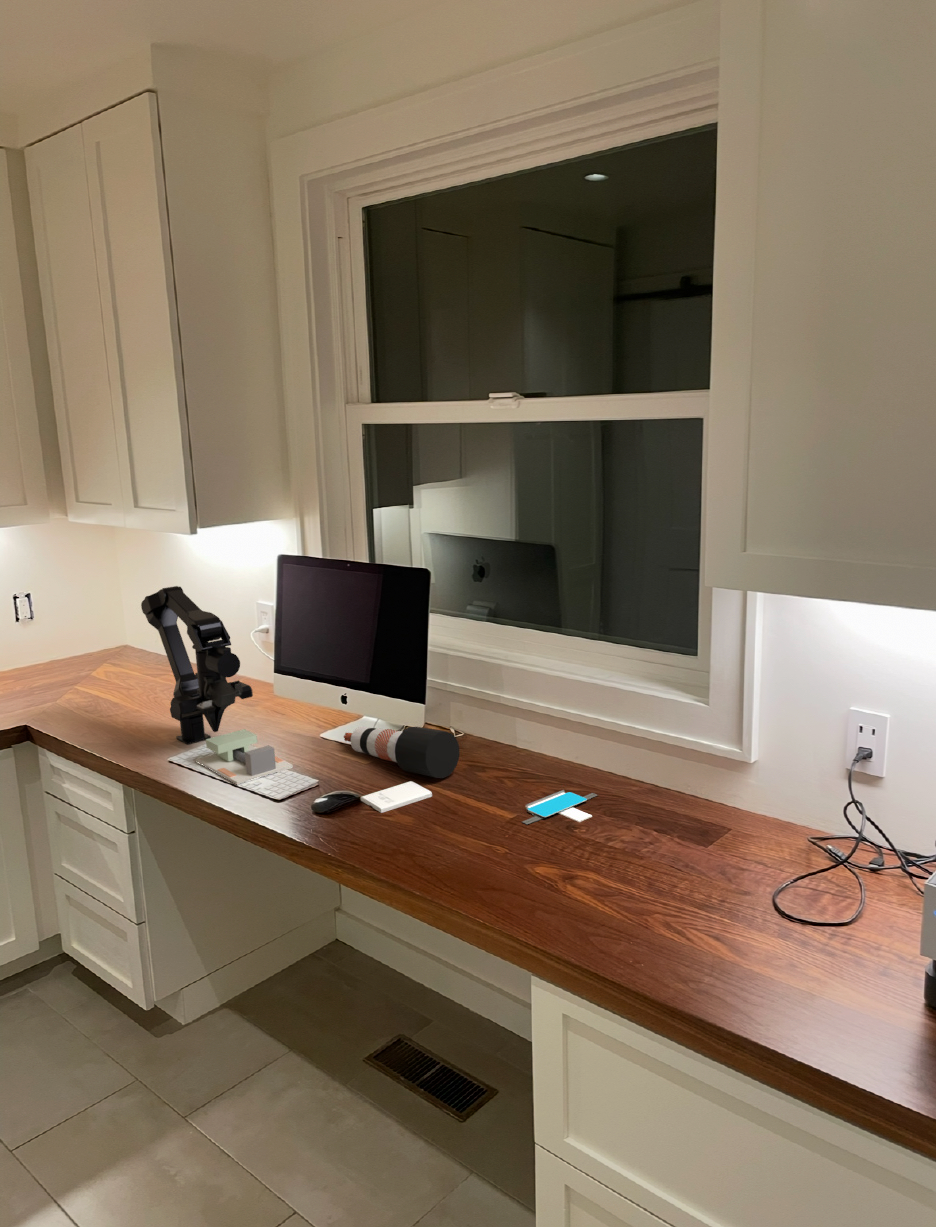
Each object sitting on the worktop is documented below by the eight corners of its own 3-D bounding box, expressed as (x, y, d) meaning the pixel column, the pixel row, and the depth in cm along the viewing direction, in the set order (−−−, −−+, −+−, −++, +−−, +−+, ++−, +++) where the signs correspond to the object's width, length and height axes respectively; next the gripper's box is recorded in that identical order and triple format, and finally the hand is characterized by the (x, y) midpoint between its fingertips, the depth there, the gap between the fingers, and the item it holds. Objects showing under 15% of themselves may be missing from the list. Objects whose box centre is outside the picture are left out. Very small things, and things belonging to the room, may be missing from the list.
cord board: (196, 762, 217) (193, 738, 216) (249, 746, 226) (247, 724, 225) (237, 785, 203) (234, 760, 202) (292, 767, 212) (290, 743, 211)
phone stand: (549, 837, 174) (548, 829, 174) (506, 818, 183) (506, 810, 183) (619, 806, 186) (619, 799, 186) (576, 790, 195) (576, 782, 195)
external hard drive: (432, 799, 193) (381, 815, 186) (410, 787, 200) (360, 802, 193) (432, 792, 193) (380, 808, 186) (410, 780, 200) (360, 795, 192)
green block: (207, 757, 217) (205, 739, 216) (245, 746, 223) (244, 729, 223) (219, 764, 213) (217, 745, 212) (258, 752, 219) (256, 734, 218)
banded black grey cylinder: (357, 761, 227) (367, 721, 229) (453, 782, 203) (463, 736, 205) (325, 753, 220) (336, 711, 222) (420, 773, 196) (431, 727, 198)
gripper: (187, 684, 208) (194, 749, 211) (261, 667, 220) (266, 729, 223) (166, 674, 216) (173, 738, 219) (238, 659, 228) (244, 719, 231)
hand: (215, 731), depth 223 cm, fingers closed
